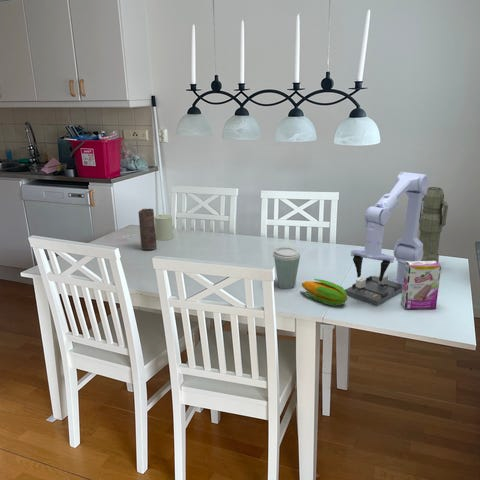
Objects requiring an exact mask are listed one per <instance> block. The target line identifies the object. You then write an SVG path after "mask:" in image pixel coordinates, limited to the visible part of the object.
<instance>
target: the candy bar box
mask: <svg viewBox="0 0 480 480" xmlns="http://www.w3.org/2000/svg"><path fill="white" fill-rule="evenodd" d="M441 269H442V264H441V263H439V261H438V262H436V261H405V266H404V276H403V286H402V293H401V296H400V297H401V298H400V305H401V306H402V307H403V308H404V310H425V309H427V310H428V309H431V310H432V309H437V305H438V304H437V303H438V295H439V294H438V293H439V285H440V280H441V279H440V278H441V277H440V276H441Z"/></svg>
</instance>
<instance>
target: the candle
mask: <svg viewBox="0 0 480 480" xmlns="http://www.w3.org/2000/svg"><path fill="white" fill-rule="evenodd" d="M154 211H155V210H154V208H142V209H141V210H139V211H138V222H139V233H140V234H139V235H140V248H141V249H144V250H156V249H157V239H156V232H155V219H154V217H155V213H154Z"/></svg>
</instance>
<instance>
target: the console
mask: <svg viewBox="0 0 480 480" xmlns="http://www.w3.org/2000/svg"><path fill="white" fill-rule="evenodd" d="M378 278H379V276H376V275H373V276H372V275H370V276H368V277H365V279H366V286H365V287H363V288H358V287H356V282H355V283H353V284H352V285H351V286H349V287H347V288H345V289H344V290H345V291H346V293H347V297H350V298H353V299H356V300H357V301H361V302H364V303H367V304H370V305H373V306H375V307H378V306H380V305H382V304H383V303H386V302H388V301H389V300H391V299H392V298H394V297H397V296H398V295H400V294H402V286H403V284H400V283H396V282H393V280H389V279H388V283H386V284H384V285H382V284H379V283H378Z"/></svg>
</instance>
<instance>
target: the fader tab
mask: <svg viewBox="0 0 480 480" xmlns="http://www.w3.org/2000/svg"><path fill="white" fill-rule="evenodd" d="M355 283H356V287H358V288H363V287H365V286H366V278H363V277H358V278H357V279H355Z"/></svg>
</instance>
